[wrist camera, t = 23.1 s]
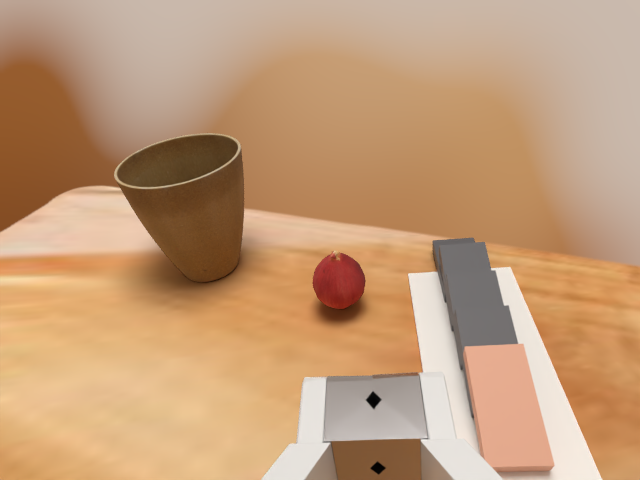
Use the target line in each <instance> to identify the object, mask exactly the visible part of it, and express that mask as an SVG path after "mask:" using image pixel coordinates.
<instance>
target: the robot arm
mask: <svg viewBox="0 0 640 480" xmlns="http://www.w3.org/2000/svg"><path fill="white" fill-rule="evenodd" d="M261 480H504V479H503V478H502V477H501V476H500V475H499V474H498V473H497V472H496V471H495V470H494V469H493V468H492V467H491V466H490V465H489V464H488V463H487V462H486V461H485V460H484V458H483V457H482V456H481V455H480V454H479V453H478V452H477V451H476V450H475V449H474V448H473V447H472V446H471V445H470V444H469V443H468V442H467V441H466V440H465V439H457V435H456V430H455V425H454V420H453V415H452V410H451V405H450V400H449V395H448V390H447V385H446V380H445V375H444V374H443V372H423V373H419V374H418V372H416V373H398V374H380V375H373V376H328V377H305V378H304V381H303V383H302V392H301V402H300V412H299V422H298V432H297V442H296V443H293V444H289V445H288V446H287V448H286V449H285V450H284V451H283V453H282V454H281V455H280V456H279V458H278V459H277V460H276V461H275V463H274V464H273V465H272V466H271V468H270V469H269V470H268V471H267V473H266V474H265V475H264V476H263V478H262V479H261Z"/></svg>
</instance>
